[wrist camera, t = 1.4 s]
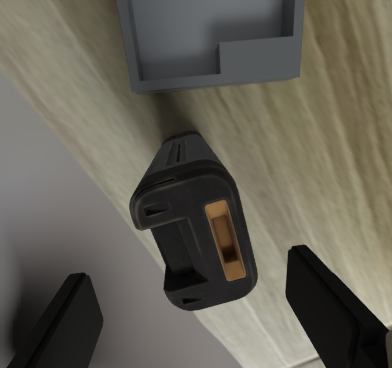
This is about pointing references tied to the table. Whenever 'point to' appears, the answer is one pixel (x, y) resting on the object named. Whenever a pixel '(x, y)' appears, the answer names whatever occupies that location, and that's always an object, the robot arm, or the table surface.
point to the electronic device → (195, 224)
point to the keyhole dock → (210, 42)
